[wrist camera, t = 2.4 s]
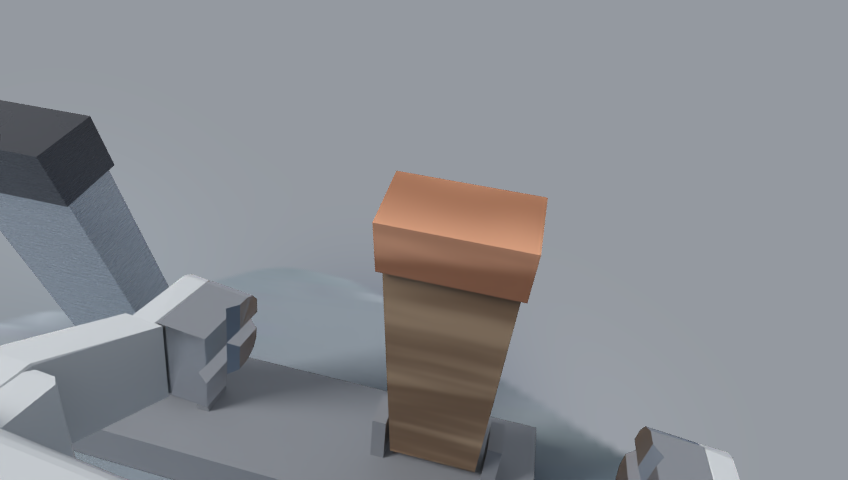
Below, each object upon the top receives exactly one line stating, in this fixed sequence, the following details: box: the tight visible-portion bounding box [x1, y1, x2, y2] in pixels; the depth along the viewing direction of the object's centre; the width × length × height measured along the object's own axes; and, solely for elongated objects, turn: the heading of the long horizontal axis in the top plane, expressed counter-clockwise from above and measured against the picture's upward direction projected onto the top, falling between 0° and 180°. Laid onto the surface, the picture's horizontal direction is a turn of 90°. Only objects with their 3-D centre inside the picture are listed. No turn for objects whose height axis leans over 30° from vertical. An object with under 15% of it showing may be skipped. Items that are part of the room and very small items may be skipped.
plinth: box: [72, 357, 536, 480], centre depth 32 cm, size 8×30×6 cm, turn 77°
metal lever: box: [0, 100, 169, 326], centre depth 27 cm, size 3×5×19 cm, turn 77°
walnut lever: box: [373, 171, 548, 473], centre depth 24 cm, size 3×5×19 cm, turn 77°
